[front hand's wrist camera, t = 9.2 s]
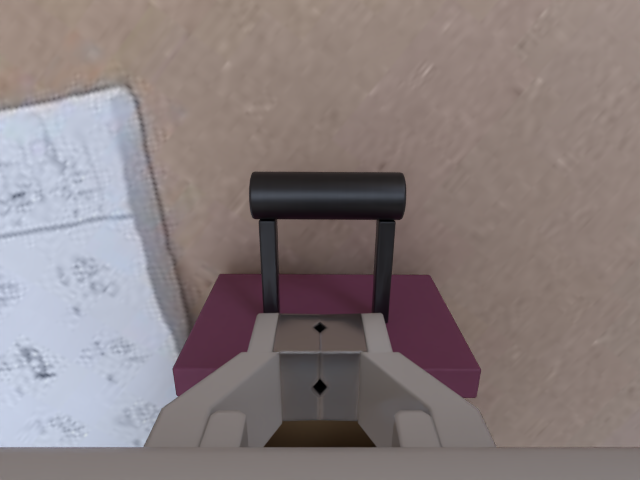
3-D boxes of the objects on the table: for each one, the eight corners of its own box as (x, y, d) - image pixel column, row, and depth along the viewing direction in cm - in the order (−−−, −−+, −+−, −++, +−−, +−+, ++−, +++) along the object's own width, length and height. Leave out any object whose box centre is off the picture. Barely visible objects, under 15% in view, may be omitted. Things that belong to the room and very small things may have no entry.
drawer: (208, 151, 18) (145, 195, 12) (443, 152, 18) (512, 197, 12) (243, 540, 27) (218, 688, 21) (400, 541, 27) (425, 688, 21)
